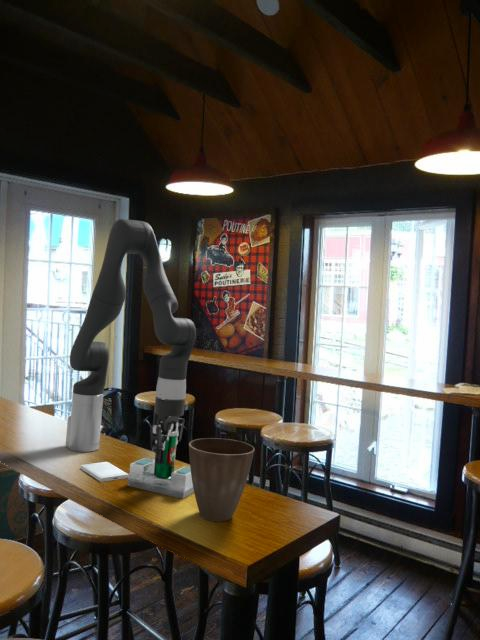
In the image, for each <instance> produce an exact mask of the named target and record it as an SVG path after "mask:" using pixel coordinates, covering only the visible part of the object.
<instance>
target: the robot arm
mask: <svg viewBox="0 0 480 640" xmlns="http://www.w3.org/2000/svg"><path fill="white" fill-rule="evenodd" d="M156 238H157V237H156V234H155V233H154V229H153V228H152V226H151V225H150V223H148V222H146V221H142V220H136V219H135V220H134V219H128V218H127V219H126V218H120V219H117V220H115V222H114V223H113V224H112V227H111V229H110V231H109V235H108V238H107V239H108V240H107V243H106V248H105V253H104V256H103V261H102V264H101V269H100V271H99V275H98V278H97V280H96V283H95V285H94V288H93V290H92V294H91V297H90V300H89V303H88V307H87V310H86V314H85V317H84V319H83V321H82V324H81V327H80V329H79V331H78V334H77V335H76V336H75V337H76V338H75V340H74V341H73V345H72V346H71V349H70V350H71V351H70V355H69V365H70V368H71V369H72V370H74V371H78V372H90V374H89V375H87V377H85V378H83V379H82V380H79V381H76V382H75V383H73V386H72V397H71V399H72V400H71V409H70V415H69V416H68V417H67V422H66V423H67V426H66V433H65V434H66V435H65V448H68V449H69V450H70V451H74V452H83V453H84V452H85V453H87V452H94V451H95V452H96V451H97V450H99V448H100V440H101V439H100V438H101V426H102V416H103V406H104V405H103V404H104V393H105V391H104V390H105V387H106V384H107V383H106V382H107V373H108V367H109V360H110V359H109V358H110V351H109V346H108V345H107V343H105V342H103V341H94V340H95V339H96V337H97V336H98V335H99V334H100V333H101V332H102V331H104V330H105V329H106V328H107V327H108V326H109V325H111V323H113V322H114V321H115V320H116V319H117V318H118V317H119V316H120V314H121V311H122V308H123V306H124V303H125V301H126V297H127V291H126V290H127V289H126V285H125V281H124V278H123V276H122V275H123V274H122V264H123V261H124V257H125V255H126V254H130V255H140V257H141V258H142V259H143V261H144V265H145V271H144V272H145V273H144V277H143V284H142V285H143V286H142V287H143V292H144V295H145V298H146V300H147V302H148V304H149V307H150V309H151V312H152V320H153V327H154V334H155V336H156V338H157V339H158V341H159V342H160V343H161V344H163V345H165V346H172V348H171V350H170V352H169V353H166V354H164V355H162V356H161V357H160V359H159V365H158V366H159V369H158V377H157V383H156V388H155V389H156V390H155V399H154V400H155V401H154V410H153V411H154V413H155V414H156V415H157V416H158V417H157V422H156V424H151V425H150V427H149V429H150V430H149V435H150V436H149V437H150V448H153V449H155V455H154V460H155V464H158V465H162V464H163V463H164V454H165V450H164V449H165V446H166V442H167V441H169V437H170V434H171V431H173V430H174V431H175V430H176V433H177V444H176V446H177V445H178V443H179V442H181V441H182V436H183V431H184V427H185V421H186V419H185V418H182V416H184V413H185V404H186V395H187V392H186V391H187V372H188V371H187V370H188V363H189V360H190V358H191V355H192V352H193V349H194V345H195V343H196V341H197V328H196V325H195V323H194V321H192V319H189V318H187V317H185V318H184V317H174V315H173V314H174V313H176V312H177V311H178V308H179V302H178V300H177V297H176V295H175V293H174V291H173V289H172V287H171V284H170V282H169V279H168V277H167V274H166V271H165V268H164V264H163V260H162V256H161V252H160V249H159V246H158V241H157V239H156ZM161 435H166V436H165V437H161ZM162 440H163V442H162Z"/></svg>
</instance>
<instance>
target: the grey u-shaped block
mask: <svg viewBox="0 0 480 640" xmlns="http://www.w3.org/2000/svg"><path fill="white" fill-rule="evenodd" d="M154 466H155V459H154V458H153V459H152V458H147V457H143V458H141V459H138V460H135V461H134V462H131V463H130V464H129V473H128V474H129V477H128V478H127V486H128V487H133V488H137V489H141V490H145V491H148V492H154V493H158V494H161V495H166V496H169V497H175V498H179V499H183V500H184V499H185V498H187V497H188V496H190V495H192V494H194V489H193V483H192V476H191V469H190V466H185V465H184V466H183V467H181V468H178V469H175V470H174V472H172V474H171V478H169V479H159V478H157V477H155V475H154ZM191 493H192V494H191Z"/></svg>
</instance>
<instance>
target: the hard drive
mask: <svg viewBox="0 0 480 640" xmlns="http://www.w3.org/2000/svg"><path fill="white" fill-rule="evenodd" d="M80 470H82V471H83V472H85V474H86V473H87V475H90V476H91V477H92V478H94V479H95V480H97V481H99V482H100V483H103V482H104V483H105V482H110V481H115V480H116V481H117V480H125V479H128V477H129V473H127V472H125V471H124V470H122V469H120V468H119V467H117V466H116V465H113V464H112V463H111V462H109V461H102V462H95V463H87V464H85V463H84V464H81V465H80Z"/></svg>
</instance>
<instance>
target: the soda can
mask: <svg viewBox="0 0 480 640" xmlns="http://www.w3.org/2000/svg"><path fill="white" fill-rule="evenodd" d="M165 436H166V435H161V437H165ZM162 442H163V440H162ZM176 444H177V445H178V443H177V433H176V430H175V431H174V430H173V431H171V434H170V437H169V441H167V442H166V446H165V449H164V450H165V454H164V463H163V464H162V465H158V464H155V466H154V475H155V477H157V478H159V479H169V478H171V474H172V472H174V471H175V466H176V465H175V464H176V455H177V454H176V452H177V445H176Z"/></svg>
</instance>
